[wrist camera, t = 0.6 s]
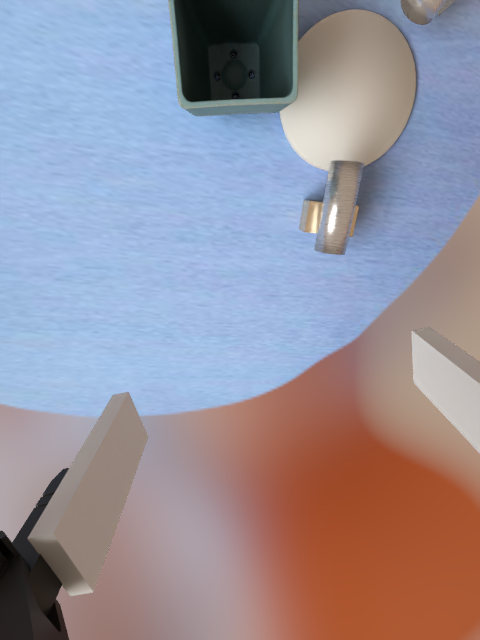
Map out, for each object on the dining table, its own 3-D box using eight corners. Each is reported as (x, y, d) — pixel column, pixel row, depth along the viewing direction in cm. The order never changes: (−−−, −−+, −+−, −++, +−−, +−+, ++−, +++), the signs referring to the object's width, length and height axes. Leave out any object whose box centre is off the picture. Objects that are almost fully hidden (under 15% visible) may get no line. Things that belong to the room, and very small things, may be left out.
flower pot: (281, 13, 28) (300, -63, 20) (281, 127, 32) (298, 102, 23) (183, 19, 28) (161, -55, 20) (193, 132, 32) (178, 109, 23)
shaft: (309, 164, 33) (324, 157, 27) (356, 169, 33) (381, 164, 27) (296, 242, 36) (308, 251, 30) (340, 247, 36) (359, 256, 30)
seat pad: (257, 56, 29) (258, 54, 29) (395, -20, 27) (397, -23, 27) (305, 193, 34) (306, 193, 33) (426, 136, 32) (429, 135, 32)
